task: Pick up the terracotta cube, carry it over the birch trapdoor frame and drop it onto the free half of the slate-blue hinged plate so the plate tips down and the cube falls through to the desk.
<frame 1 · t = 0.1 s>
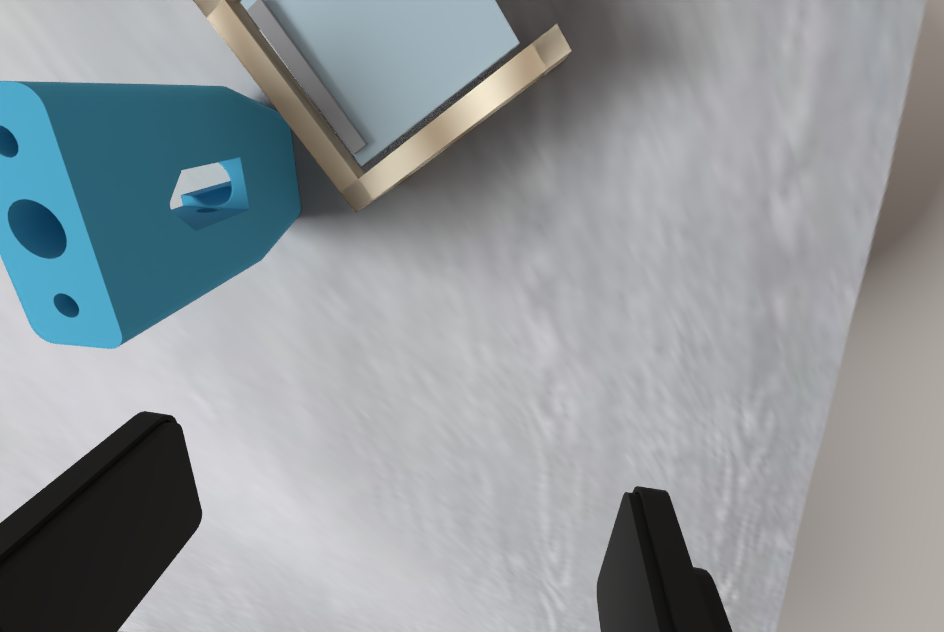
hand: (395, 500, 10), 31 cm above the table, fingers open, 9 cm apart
block: (268, 166, 39), on the table
trapdoor frame: (416, 38, 34), on the table
trapdoor plate: (379, 22, 26), point 9 cm above the table, hinge at -3.8°
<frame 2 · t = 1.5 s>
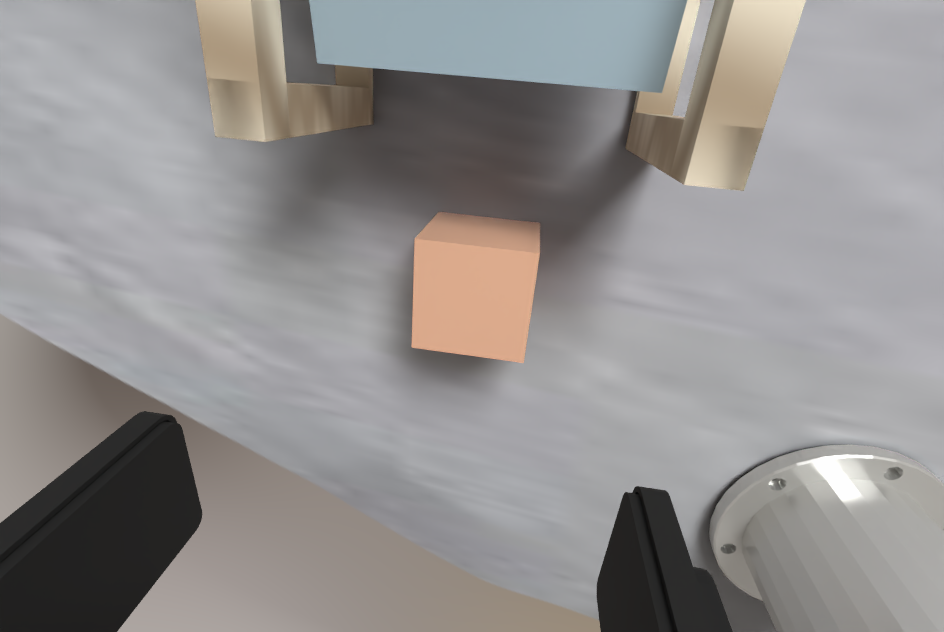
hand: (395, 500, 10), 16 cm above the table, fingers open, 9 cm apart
terracotta block: (484, 265, 24), on the table
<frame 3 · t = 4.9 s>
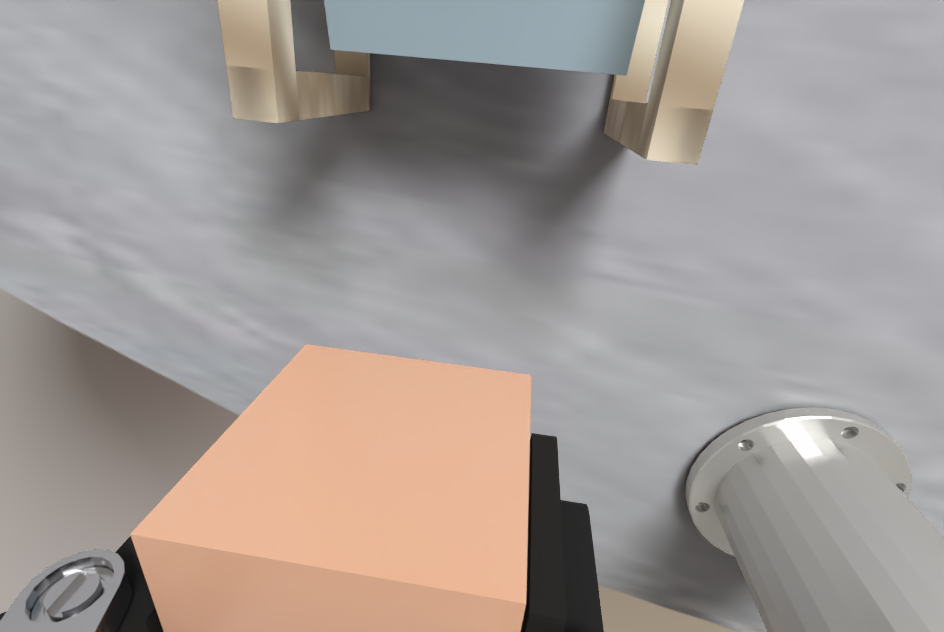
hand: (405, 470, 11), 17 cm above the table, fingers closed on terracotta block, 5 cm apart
terracotta block: (413, 448, 11), point 16 cm above the table, touching gripper
when the fingers open (12 cm above the table, at t = 6.4 s): terracotta block drops 9 cm and tips over, point 2 cm above the table.
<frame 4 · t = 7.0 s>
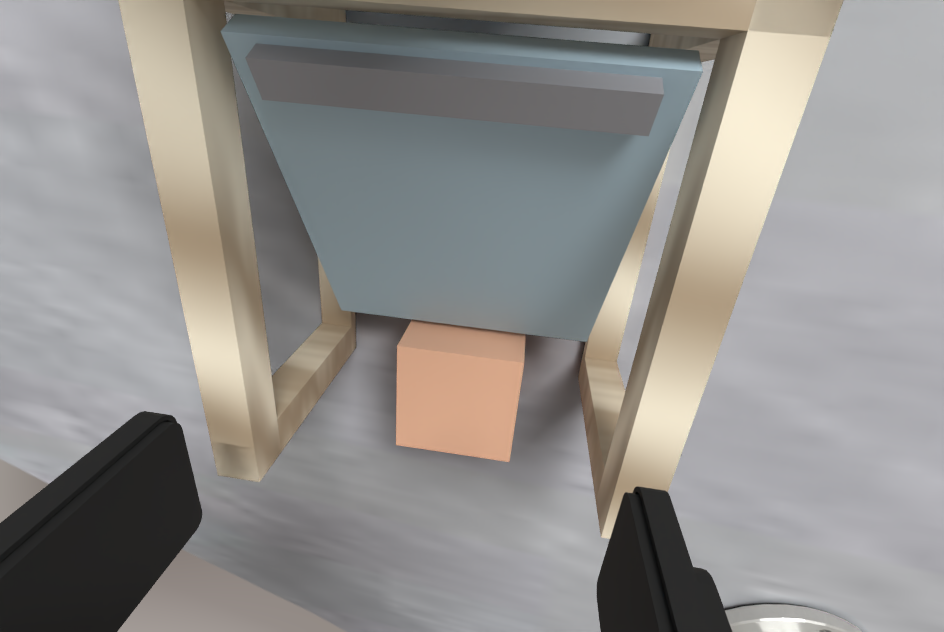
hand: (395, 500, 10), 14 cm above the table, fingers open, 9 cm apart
terracotta block: (468, 325, 20), point 2 cm above the table, tilted 90°
trapdoor frame: (478, 211, 21), on the table
trapdoor plate: (458, 230, 15), point 6 cm above the table, hinge at -32.2°
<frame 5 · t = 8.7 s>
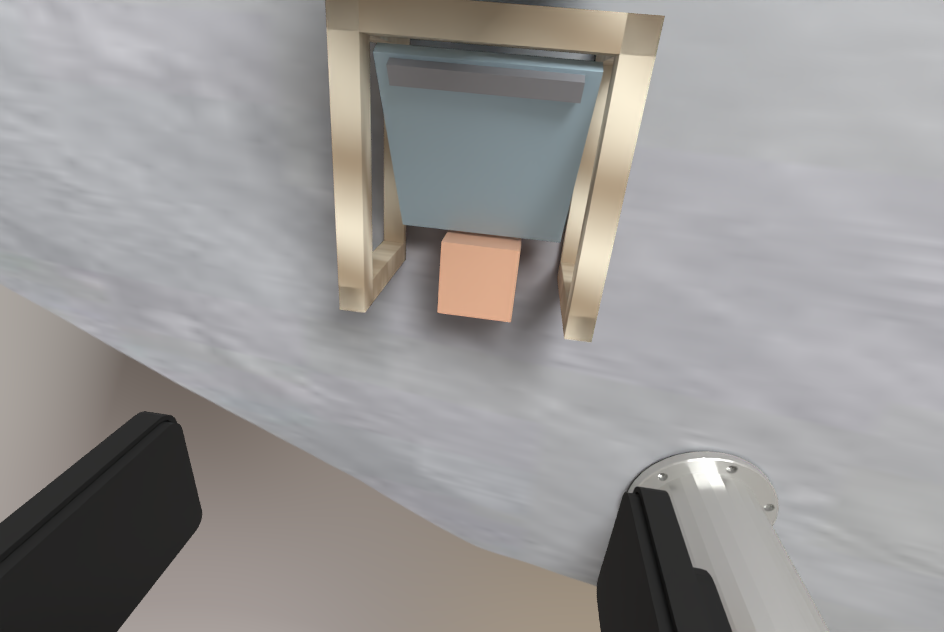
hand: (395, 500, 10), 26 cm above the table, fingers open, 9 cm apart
terracotta block: (484, 235, 32), point 2 cm above the table, tilted 90°
trapdoor frame: (490, 161, 32), on the table
trapdoor plate: (483, 162, 26), point 6 cm above the table, hinge at -32.2°
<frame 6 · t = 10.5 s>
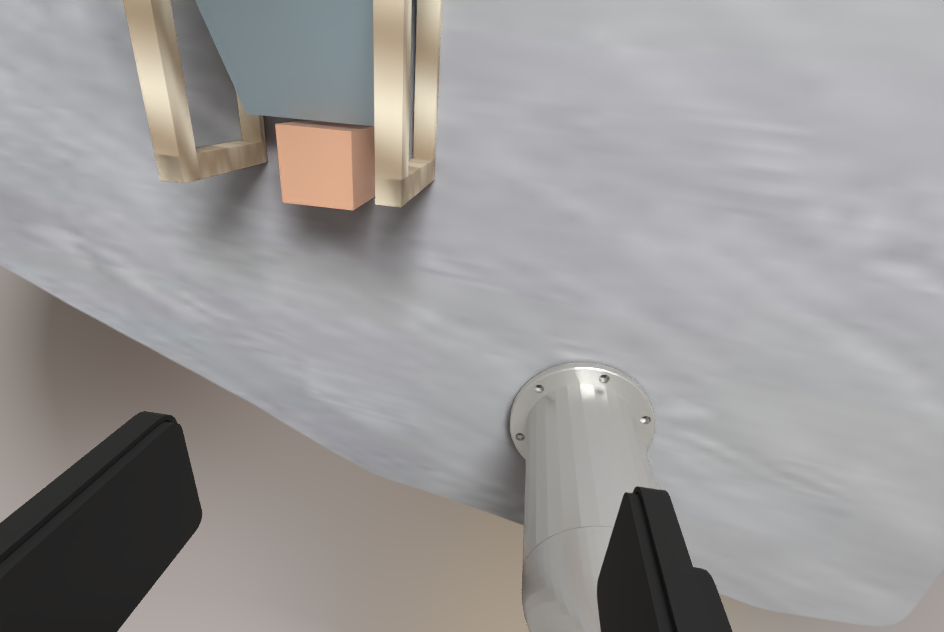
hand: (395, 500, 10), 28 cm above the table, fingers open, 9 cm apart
terracotta block: (328, 125, 32), point 2 cm above the table, tilted 90°
trapdoor frame: (335, 53, 32), on the table
trapdoor plate: (294, 30, 26), point 6 cm above the table, hinge at -32.2°
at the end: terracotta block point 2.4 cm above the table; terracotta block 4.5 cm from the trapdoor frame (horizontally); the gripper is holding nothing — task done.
